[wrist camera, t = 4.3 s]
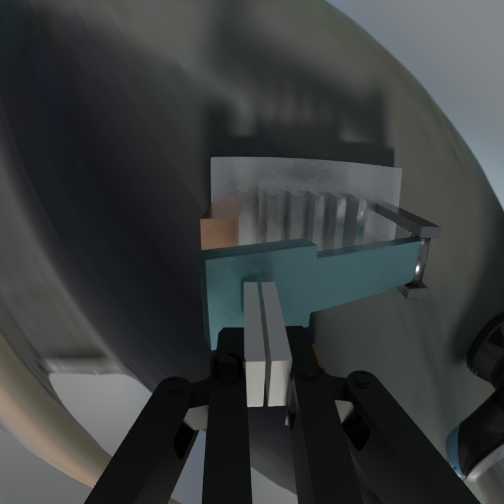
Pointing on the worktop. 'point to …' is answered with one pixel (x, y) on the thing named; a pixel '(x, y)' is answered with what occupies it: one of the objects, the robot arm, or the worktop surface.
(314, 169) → the heatsink base
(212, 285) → the lever
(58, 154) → the worktop surface
